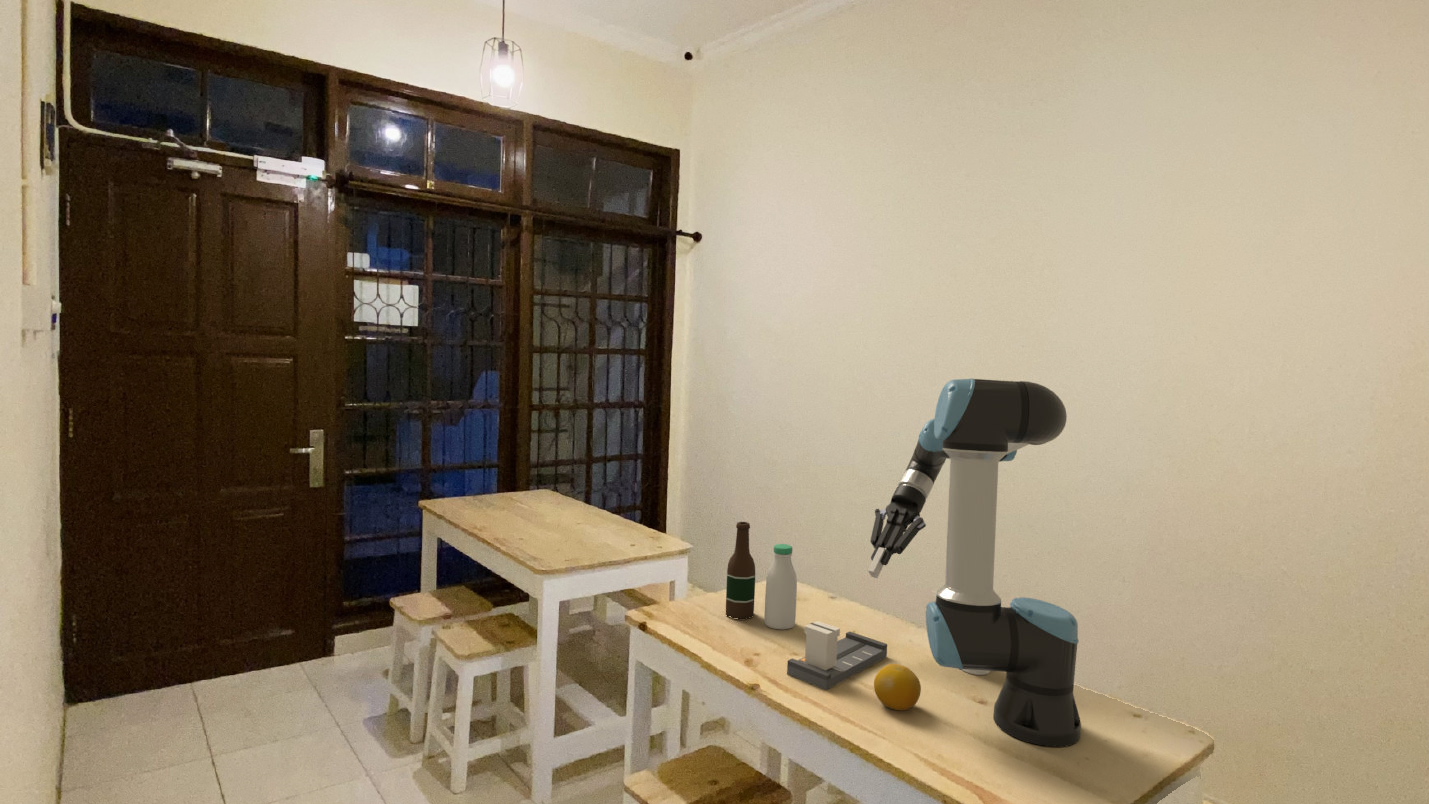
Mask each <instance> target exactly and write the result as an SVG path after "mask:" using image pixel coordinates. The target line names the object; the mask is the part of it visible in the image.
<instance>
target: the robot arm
mask: <svg viewBox="0 0 1429 804" xmlns="http://www.w3.org/2000/svg"><path fill="white" fill-rule="evenodd" d="M936 403H937V404H936V408H935V414H934V418H933V419H929V420H928V421H927V422H925V424H924V426H923V427H922V429H921V431H920V433H919V434H918V440H917V443H916V446H915V448H914V450H913V453H912V456H911V459H910V460H909V463H908V465H907V467H906V469H905V471H904V472H903V475H902V477H900V479H899V480H900V481H899V482H898V484H897V487H896V488H895V490H894V492H893V494H892V496H891V500H890V503H888V505H886V507H885V508H884V509H880V508H876V509H875V510H874V515H875V519H874V523H873V528H872V531H871V536H870V540H869V541H870V542H869V543H870V544H871V545H872V547H873V548H874V550H873V553H872V555H871V556H870V559H871V562H870V565H869V566H868V569H867V571H868V573H869V575H870V577H871V578H875V579H878V577H879V575H880V573H881V572H882V570H883V567H884V566H887V565H889V562H890V560H891V558H892V556H893V555H895V554H898V555H901V554H902V553H903V552H904V551H905V550H906V548H907V547H908V546H909V544H910V543H911V542H912V540H913V539H914V538H915V537H916V536H917V534H918V533H919V532H920V531H922V530H923V529H924V528H926V525H927V524H926V523H925V520H924V518H923V517H920V516H921V512H922V510H923V508H924V505H926V504H925V503H926V502H927V500H928V497H929V496H930V493H931V491H932V489H933V486H934V484H935V482H936V480H937V478H938V476H939V474H940V472H941V470H942V468H943V466H944V464H945V462H946V460H947V459H948V460H950V461H949V463H950V465H949V488H948V509H947V511H948V512H947V532H946V534H947V535H946V551H945V552H946V555H945V556H946V557H945V559H946V560H945V574H944V575H945V580H944V581H945V582H944V585H943V586H942V587H940V588H939V589H938V590H937V591H936V595H935V601H931V602H928V603H927V605H926V611H925V623H926V624H925V625H926V633H927V640H928V644H929V648H930V653H931V655H932V658H933V659H934V661H935V663H937V665H939V666H940V667H944V668H951V669H958V670H960V671H963V669H970V670H985V671H990V672H1002V673H1003V672H1005V674H1006V675H1005V676H1006V677H1005V681H1004V683H1003V685H1002V688H1001V690H1000V692H999V694H998V697H997V698H996V699H997V700H996V701H995V703H994V705H993V714H992V715H993V721H994V723H995V724H996V726H997V727H998V726H999V727H1000V728H1001V729H1000V728H999V729H1000V730H1002V731H1003V732H1004V731H1006V732H1007V733H1006V732H1005V733H1006V734H1008V735H1009V734H1010V735H1009V736H1011V737H1013V736H1014V737H1013V738H1015V737H1016V739H1018V740H1020V741H1024V742H1026V741H1028V742H1027V743H1029V742H1030V744H1033V743H1034V744H1033V745H1037V744H1038V746H1042V745H1048V746H1047V747H1051V746H1053V747H1054V746H1057V747H1056V748H1058V747H1059V748H1061V747H1060V746H1062V747H1067V746H1066V745H1069V746H1072V745H1074V744H1076V743H1078V742H1079V740H1080V739H1081V736H1082V735H1081V732H1082V722H1081V717H1080V714H1079V711H1078V710H1079V709H1078V706H1077V703H1076V699H1075V696H1074V687H1075V686H1074V684H1075V676H1076V673H1075V672H1076V664H1077V654H1078V653H1077V652H1078V644H1079V638H1078V637H1079V635H1078V632H1079V631H1078V629H1079V627H1078V621H1077V619H1076V617H1075V616H1074V615H1073V614H1072V613H1071V612H1070V611H1068V610H1067V609H1065V608H1063V607H1060V606H1059V605H1056V604H1053V603H1051V602H1048V601H1045V600H1041V599H1038V598H1031V597H1025V596H1021V597H1014V598H1013V599H1012V600H1011V602H1010V603H1009V607H1007V606H1006V607H1004V606H1002V598H1001V597H1000V596H999V595H998V594H997V592H996V591H995V590H994V575H995V556H996V555H995V553H996V551H995V549H996V531H997V530H996V529H997V528H996V527H997V506H998V501H997V500H998V482H999V481H998V478H999V463H1000V462H1011V461H1013V460H1014V459H1015V458H1016V455H1017V451H1018V450H1020V449H1023V448H1024V447H1026V446H1029V445H1031V446H1040V445H1041V446H1042V445H1044V444H1046V443H1050V442H1051V441H1053V440H1055V439H1056V438H1057V437H1059V436H1060V435H1061V434H1062V433H1063V431H1064V430H1065V427H1066V425H1067V424H1066V423H1067V417H1068V416H1067V410H1066V407H1065V404H1064V403H1063V401H1062V400H1061V398H1060V397H1059V396H1058V395H1057V394H1056V393H1055V392H1054V391H1052V390H1051V389H1050V388H1048V387H1046V386H1045V385H1042V384H1040V383H1037V382H1031V381H1026V380H1025V381H1024V380H1022V381H1020V380H1017V381H1016V380H1015V381H1014V380H999V379H981V378H980V379H978V378H961V379H951V380H949V381H947V382H946V383H945V384H944V385H943V387H942V389H941V391H940V394H939V397H938V400H937V402H936ZM886 516H887V518H886ZM885 520H886V524H885V525H884V521H885ZM883 526H884V527H883ZM1075 742H1076V743H1075ZM1071 744H1072V745H1071Z"/></svg>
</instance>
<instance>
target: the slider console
mask: <svg viewBox="0 0 1429 804" xmlns="http://www.w3.org/2000/svg"><path fill="white" fill-rule="evenodd" d="M887 654H888V643H886V642H882V641H880V640H877V639H873V638H870V637H867V636H866V635H865V636H864V635H861V634H859V633H855V632H852V631H850V630H849V631H847V632H845V637H843V638H842V639H838V640H837V658H836V665H835V666H833V667H831V668H830V669H828V670H826V671H825V670H822V669H820V668H817V667H815V666H812V665H809V664H807V663H805V656H804V657H801V658H800V659H795V658H790V659H787V664H786V667H787V669H786V674H787V675H788V676H790V677H793V678H796V679H798V680H800V681H802V682H805V683H808V684H810V685H813V686H815V687H817V688H820V689H822V690H825V691H827V690H829V689H831V688H833V687H835V686H836V685H838V684H840V683H842V682H844V681H845V680H847V679H849V678H851V677H853V676H854V675H856V674H858V673H861V672H862V671H864V670H865V669H867V668H869V667H871V666H873V665H875V664H877V663H878V662H880V661H882V660H883V659H885V658H887V656H888V655H887ZM876 662H877V663H876Z"/></svg>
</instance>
